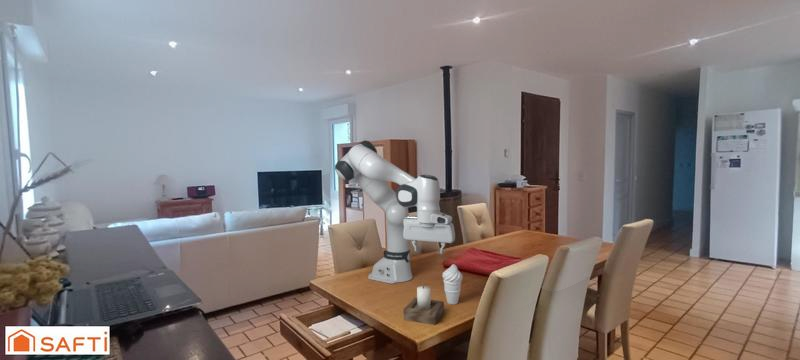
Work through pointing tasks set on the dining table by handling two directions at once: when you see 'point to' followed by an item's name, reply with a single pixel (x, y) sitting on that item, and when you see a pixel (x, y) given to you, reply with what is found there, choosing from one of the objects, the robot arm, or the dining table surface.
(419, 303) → the white wax pillar
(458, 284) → the soft serve ice cream cone
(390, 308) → the dining table surface
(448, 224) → the robot arm
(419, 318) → the holder
